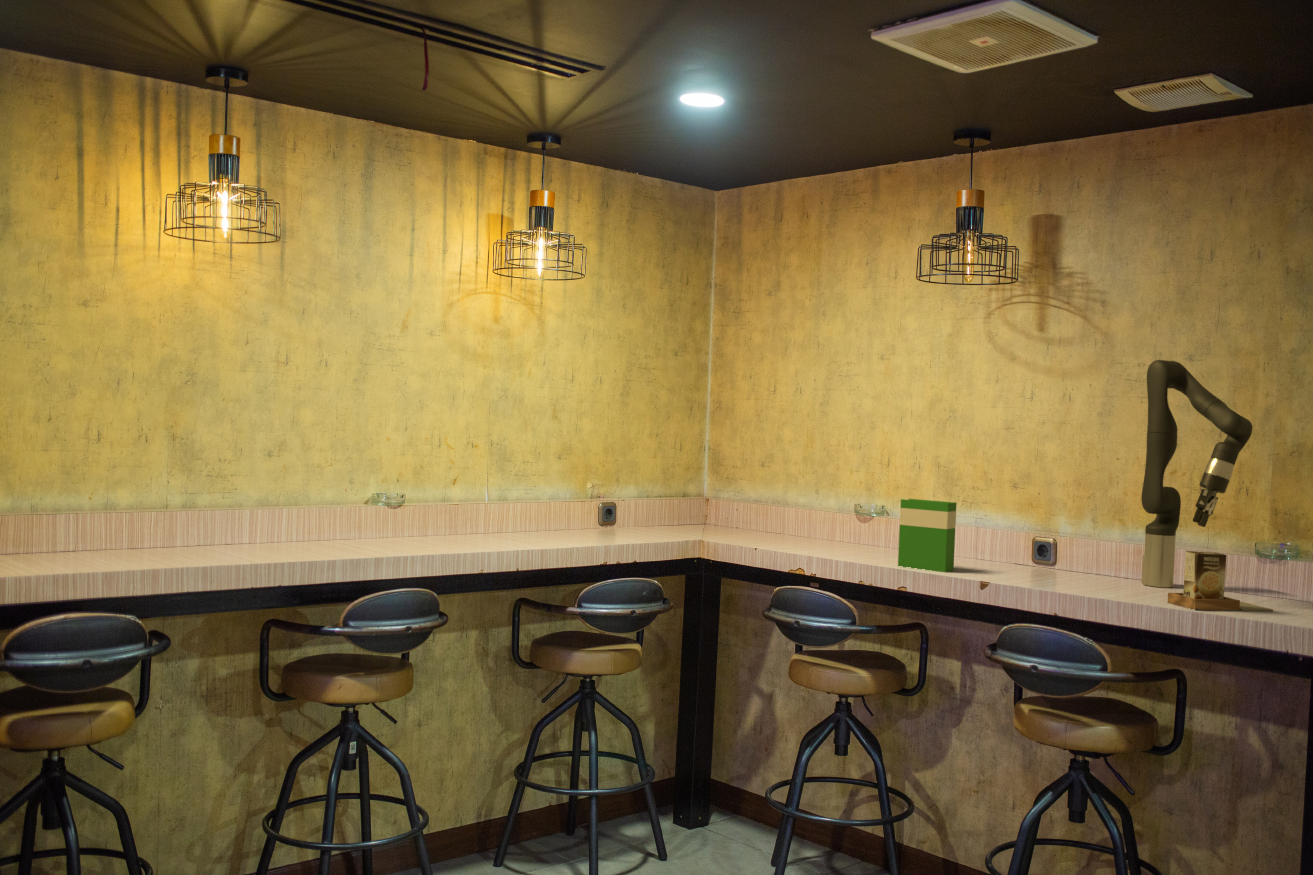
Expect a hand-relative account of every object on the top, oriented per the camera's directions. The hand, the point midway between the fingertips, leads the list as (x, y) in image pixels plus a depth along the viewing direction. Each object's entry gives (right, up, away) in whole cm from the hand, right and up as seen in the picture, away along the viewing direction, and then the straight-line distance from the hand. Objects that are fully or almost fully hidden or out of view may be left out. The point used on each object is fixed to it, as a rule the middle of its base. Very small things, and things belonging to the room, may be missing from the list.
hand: (1198, 524), depth 334 cm
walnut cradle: (-7, -23, -17) cm, 30 cm away
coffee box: (-7, -23, -17) cm, 30 cm away
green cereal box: (-74, -20, +46) cm, 89 cm away
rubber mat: (+5, -23, -15) cm, 28 cm away
